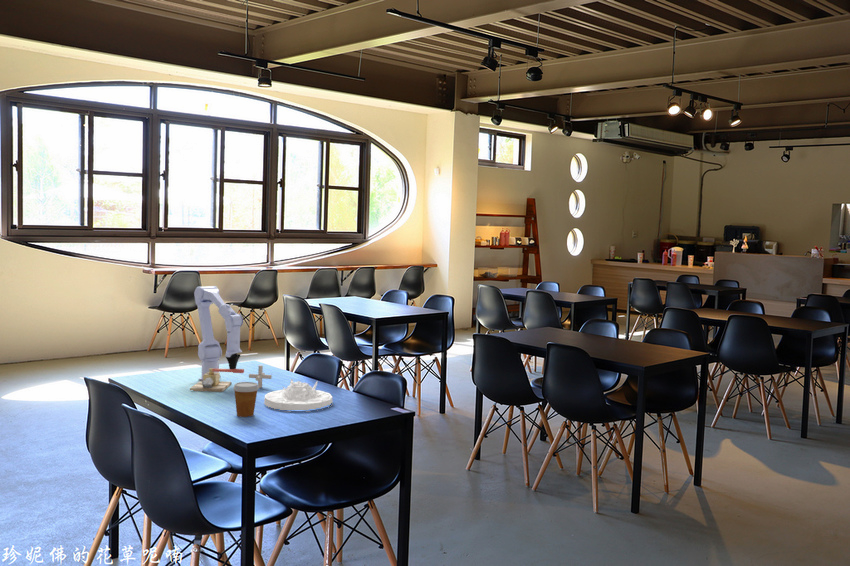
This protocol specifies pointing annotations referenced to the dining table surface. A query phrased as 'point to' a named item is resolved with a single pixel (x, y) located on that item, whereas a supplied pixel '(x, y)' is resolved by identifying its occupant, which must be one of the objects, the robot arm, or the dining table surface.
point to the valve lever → (227, 370)
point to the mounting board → (218, 388)
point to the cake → (298, 397)
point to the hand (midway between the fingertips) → (232, 370)
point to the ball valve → (210, 379)
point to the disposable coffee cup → (245, 398)
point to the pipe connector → (260, 376)
